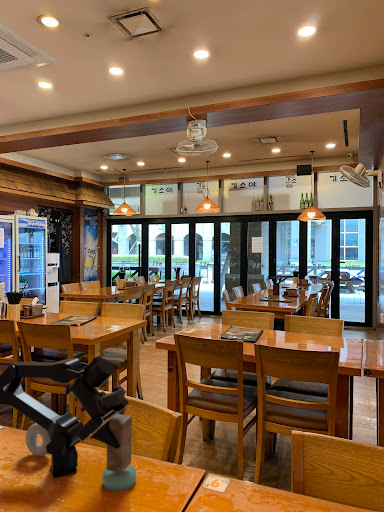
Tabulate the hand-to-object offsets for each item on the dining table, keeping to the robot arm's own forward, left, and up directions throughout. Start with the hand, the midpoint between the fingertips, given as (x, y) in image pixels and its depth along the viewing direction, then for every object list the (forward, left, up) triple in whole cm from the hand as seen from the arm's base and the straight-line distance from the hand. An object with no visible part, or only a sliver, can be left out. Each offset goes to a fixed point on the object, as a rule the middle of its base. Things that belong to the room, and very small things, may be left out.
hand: (124, 442), depth 105 cm
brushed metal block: (-1, +1, -7) cm, 7 cm away
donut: (-18, +26, -11) cm, 34 cm away
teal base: (-1, +1, -11) cm, 11 cm away
